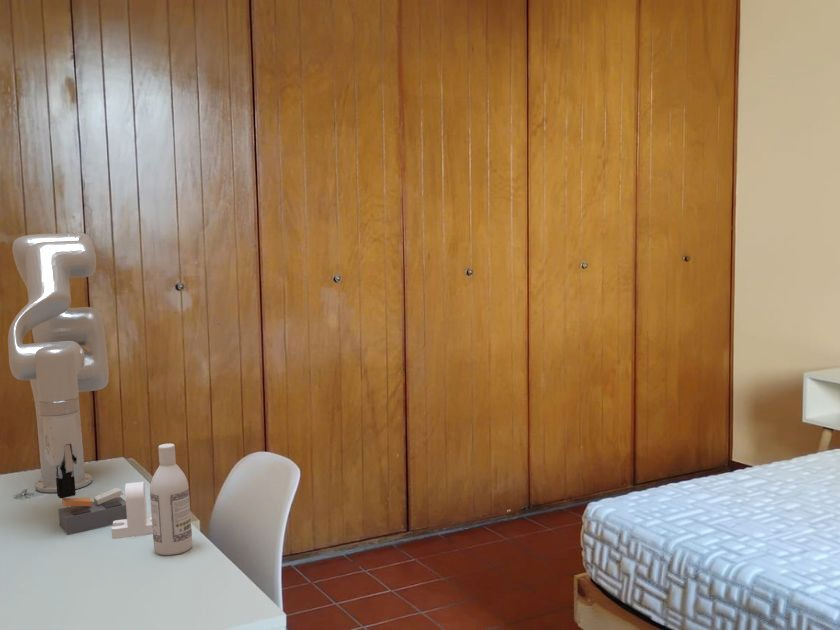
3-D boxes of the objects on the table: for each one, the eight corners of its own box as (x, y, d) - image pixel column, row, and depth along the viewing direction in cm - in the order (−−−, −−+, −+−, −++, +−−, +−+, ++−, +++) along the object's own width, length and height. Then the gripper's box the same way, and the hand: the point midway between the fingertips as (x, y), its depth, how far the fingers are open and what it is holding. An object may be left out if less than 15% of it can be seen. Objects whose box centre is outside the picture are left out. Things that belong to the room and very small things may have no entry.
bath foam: (196, 541, 161) (190, 439, 159) (186, 555, 155) (179, 449, 152) (161, 542, 162) (153, 441, 159) (149, 557, 155) (141, 450, 153)
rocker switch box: (57, 522, 175) (55, 504, 175) (117, 509, 182) (116, 492, 182) (67, 534, 168) (65, 516, 167) (130, 520, 175) (129, 503, 174)
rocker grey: (94, 501, 176) (93, 496, 176) (119, 491, 179) (117, 486, 178) (98, 504, 174) (96, 499, 173) (122, 494, 176) (121, 489, 176)
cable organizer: (114, 530, 170) (110, 482, 169) (165, 523, 172) (161, 476, 171) (111, 539, 165) (108, 489, 163) (164, 532, 167) (161, 483, 166)
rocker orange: (61, 502, 172) (62, 497, 172) (88, 502, 175) (88, 497, 175) (64, 506, 170) (65, 501, 170) (91, 506, 173) (92, 500, 173)
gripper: (32, 404, 173) (39, 491, 175) (47, 416, 161) (54, 509, 163) (70, 399, 178) (77, 484, 179) (88, 410, 165) (95, 501, 167)
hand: (66, 495), depth 171 cm, fingers closed
